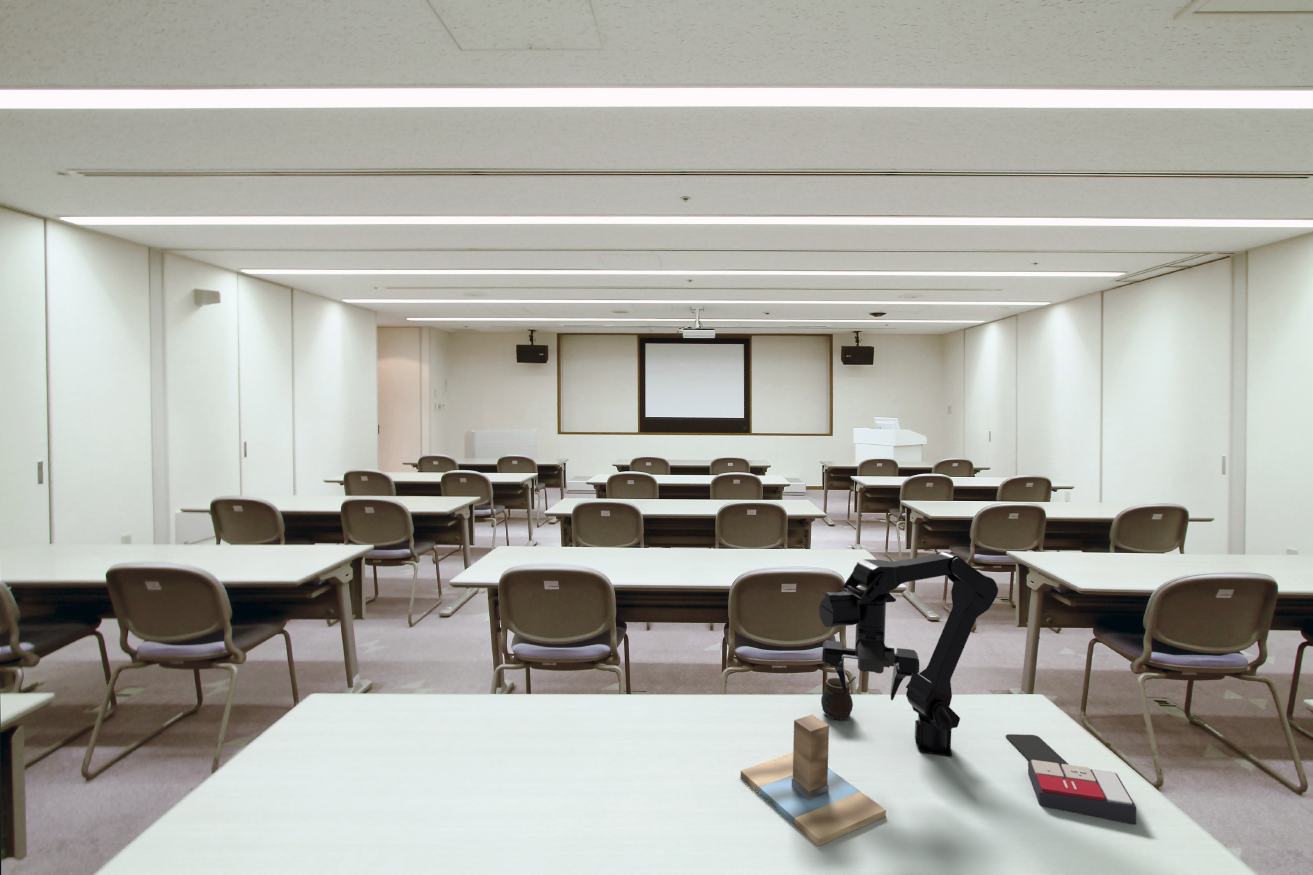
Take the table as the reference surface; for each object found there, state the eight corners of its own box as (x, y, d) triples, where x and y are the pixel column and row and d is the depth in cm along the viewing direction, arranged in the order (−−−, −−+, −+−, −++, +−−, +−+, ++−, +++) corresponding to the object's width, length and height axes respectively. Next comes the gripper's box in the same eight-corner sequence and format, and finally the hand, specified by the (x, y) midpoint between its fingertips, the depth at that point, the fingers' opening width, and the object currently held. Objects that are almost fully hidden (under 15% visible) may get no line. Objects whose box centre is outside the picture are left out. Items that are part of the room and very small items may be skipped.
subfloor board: (740, 776, 126) (740, 770, 126) (802, 754, 134) (802, 749, 134) (818, 845, 107) (818, 839, 107) (885, 815, 115) (886, 809, 115)
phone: (1037, 734, 142) (1080, 774, 127) (1037, 738, 142) (1080, 778, 127) (1003, 733, 142) (1042, 773, 127) (1003, 737, 142) (1042, 777, 127)
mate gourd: (818, 706, 155) (820, 666, 154) (851, 709, 154) (852, 668, 153) (822, 721, 148) (823, 679, 147) (856, 724, 146) (858, 682, 146)
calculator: (1027, 756, 128) (1116, 768, 123) (1027, 777, 128) (1116, 790, 123) (1039, 788, 118) (1137, 802, 113) (1039, 810, 118) (1137, 826, 113)
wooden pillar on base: (810, 778, 124) (812, 713, 123) (828, 792, 120) (830, 725, 119) (791, 785, 121) (792, 719, 120) (808, 800, 117) (810, 731, 116)
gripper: (822, 631, 126) (820, 707, 128) (924, 642, 121) (920, 722, 122) (824, 613, 137) (822, 683, 138) (917, 622, 132) (914, 695, 133)
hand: (868, 696), depth 133 cm, fingers open, 9 cm apart
